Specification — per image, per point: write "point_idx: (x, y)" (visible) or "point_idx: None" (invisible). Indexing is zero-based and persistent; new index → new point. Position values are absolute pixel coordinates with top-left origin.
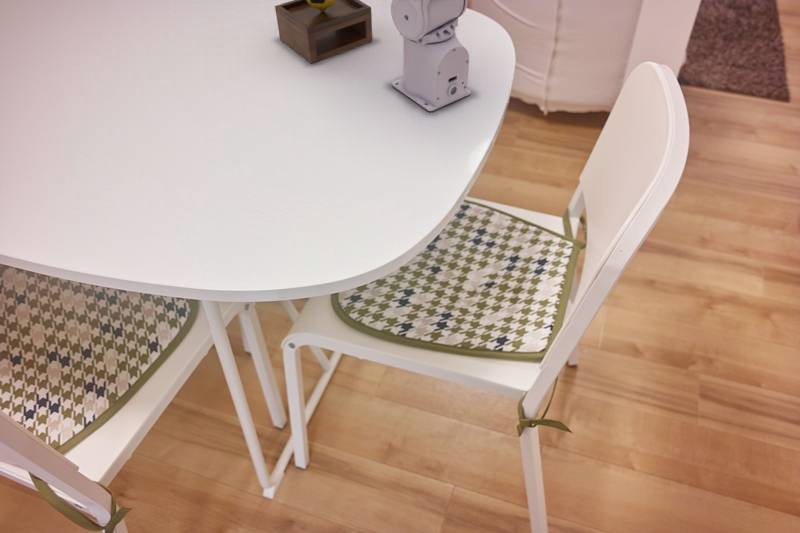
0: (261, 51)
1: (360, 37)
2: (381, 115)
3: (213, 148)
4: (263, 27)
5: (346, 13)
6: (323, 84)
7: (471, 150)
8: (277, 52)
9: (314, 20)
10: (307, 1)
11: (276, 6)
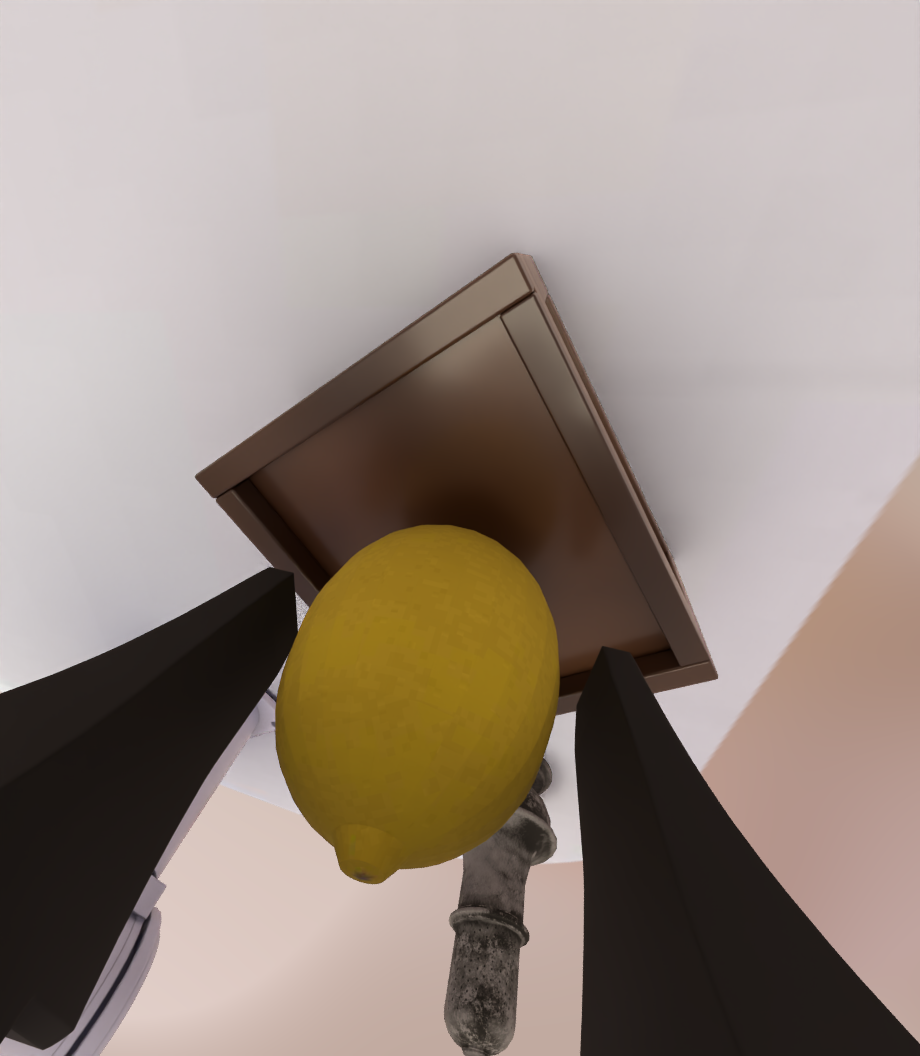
0: (412, 130)
1: None
2: (66, 579)
3: None
4: (752, 105)
5: None
6: (166, 450)
7: None
8: (397, 243)
9: (357, 510)
10: (400, 530)
11: (499, 270)
